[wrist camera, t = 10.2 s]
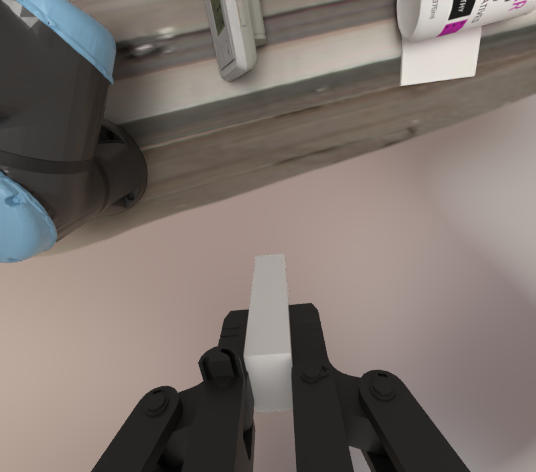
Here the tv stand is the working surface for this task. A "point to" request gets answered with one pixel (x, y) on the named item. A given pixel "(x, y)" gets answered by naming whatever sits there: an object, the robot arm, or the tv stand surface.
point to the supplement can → (454, 15)
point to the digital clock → (236, 34)
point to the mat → (440, 57)
